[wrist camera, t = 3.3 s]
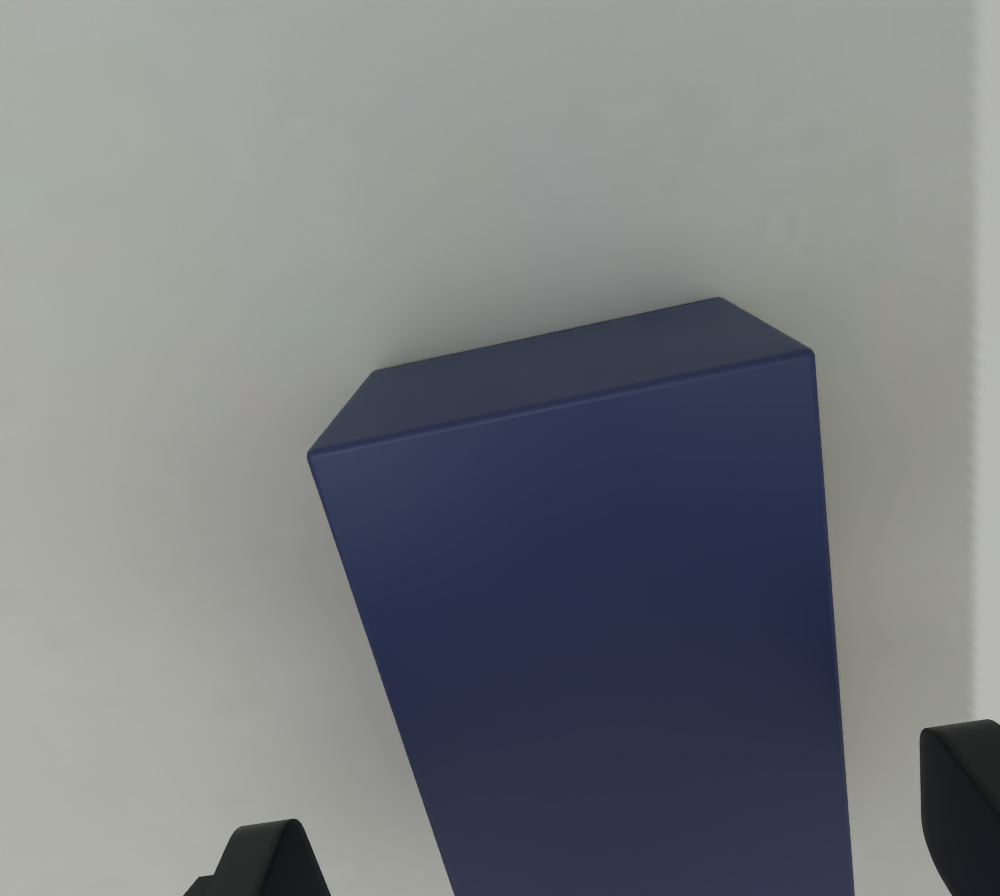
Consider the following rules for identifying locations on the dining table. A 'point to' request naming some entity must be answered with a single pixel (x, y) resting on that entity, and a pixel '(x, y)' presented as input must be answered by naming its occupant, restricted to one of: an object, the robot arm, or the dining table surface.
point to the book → (605, 605)
